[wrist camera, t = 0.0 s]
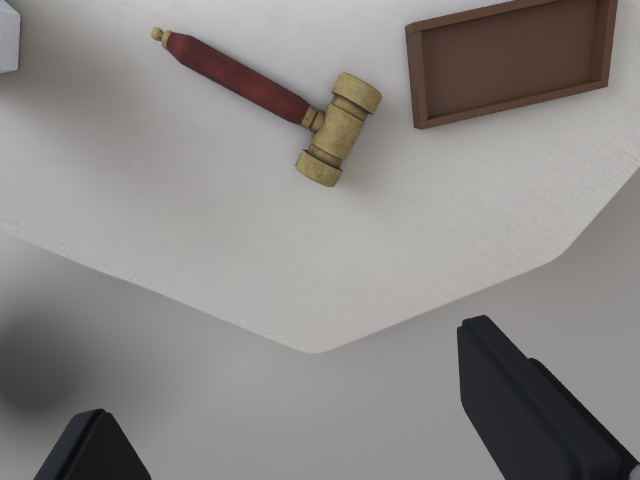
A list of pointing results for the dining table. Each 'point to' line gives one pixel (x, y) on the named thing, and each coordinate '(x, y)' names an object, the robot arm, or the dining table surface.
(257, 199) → the dining table surface
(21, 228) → the dining table surface
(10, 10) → the jar
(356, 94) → the gavel
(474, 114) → the tray
